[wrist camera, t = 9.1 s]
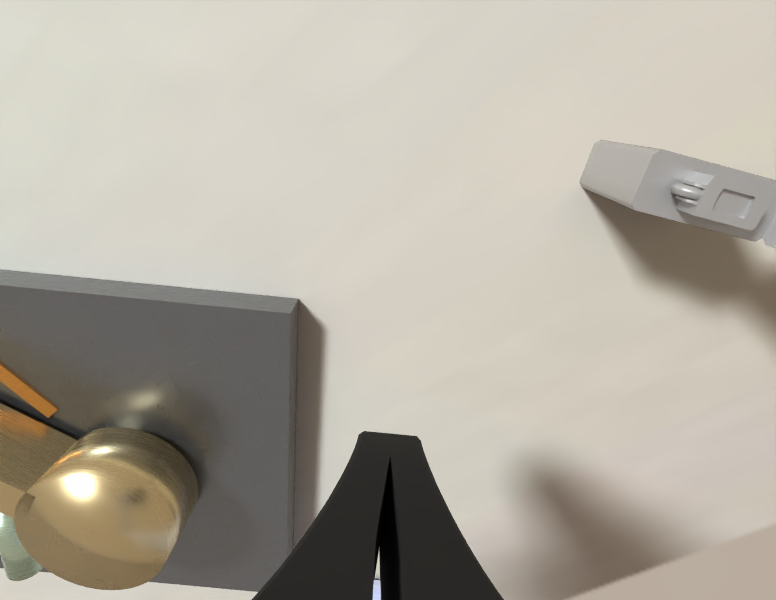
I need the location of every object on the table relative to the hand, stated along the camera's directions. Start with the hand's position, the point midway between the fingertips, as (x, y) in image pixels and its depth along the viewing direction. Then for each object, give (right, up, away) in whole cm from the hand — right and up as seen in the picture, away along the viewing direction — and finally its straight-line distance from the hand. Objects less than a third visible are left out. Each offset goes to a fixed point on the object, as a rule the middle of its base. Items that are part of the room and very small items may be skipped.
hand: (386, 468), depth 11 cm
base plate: (-12, -3, +12) cm, 17 cm away
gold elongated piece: (-15, -2, +10) cm, 18 cm away
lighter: (+11, +8, +7) cm, 15 cm away
